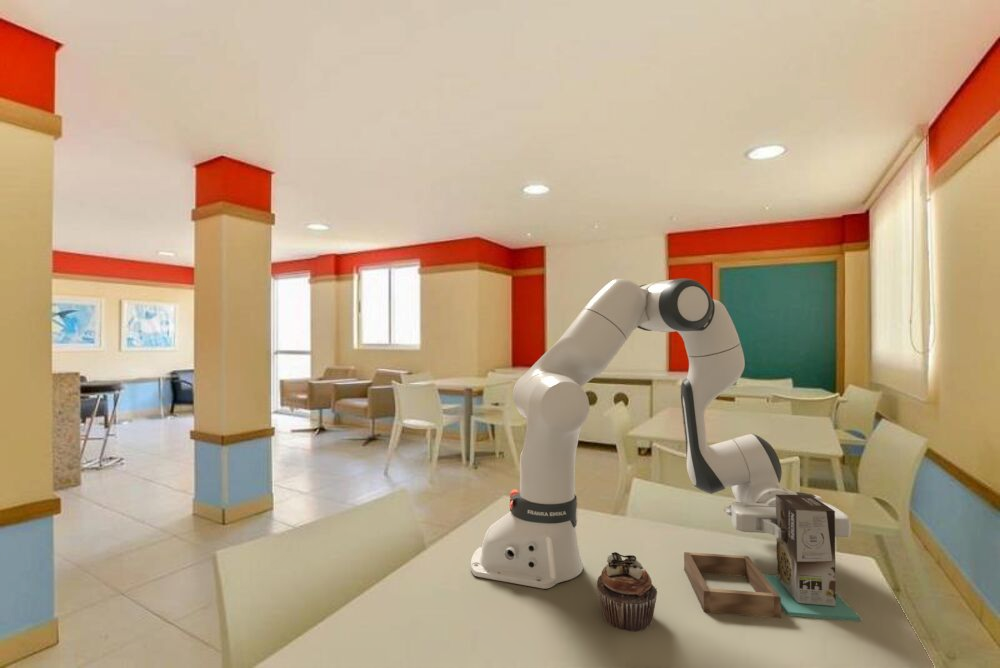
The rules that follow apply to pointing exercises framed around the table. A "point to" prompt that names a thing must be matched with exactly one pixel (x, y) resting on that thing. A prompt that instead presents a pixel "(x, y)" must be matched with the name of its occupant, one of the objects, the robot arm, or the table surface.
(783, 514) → the coffee box
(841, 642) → the table surface
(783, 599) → the teal mat
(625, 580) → the cupcake
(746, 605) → the walnut bin
